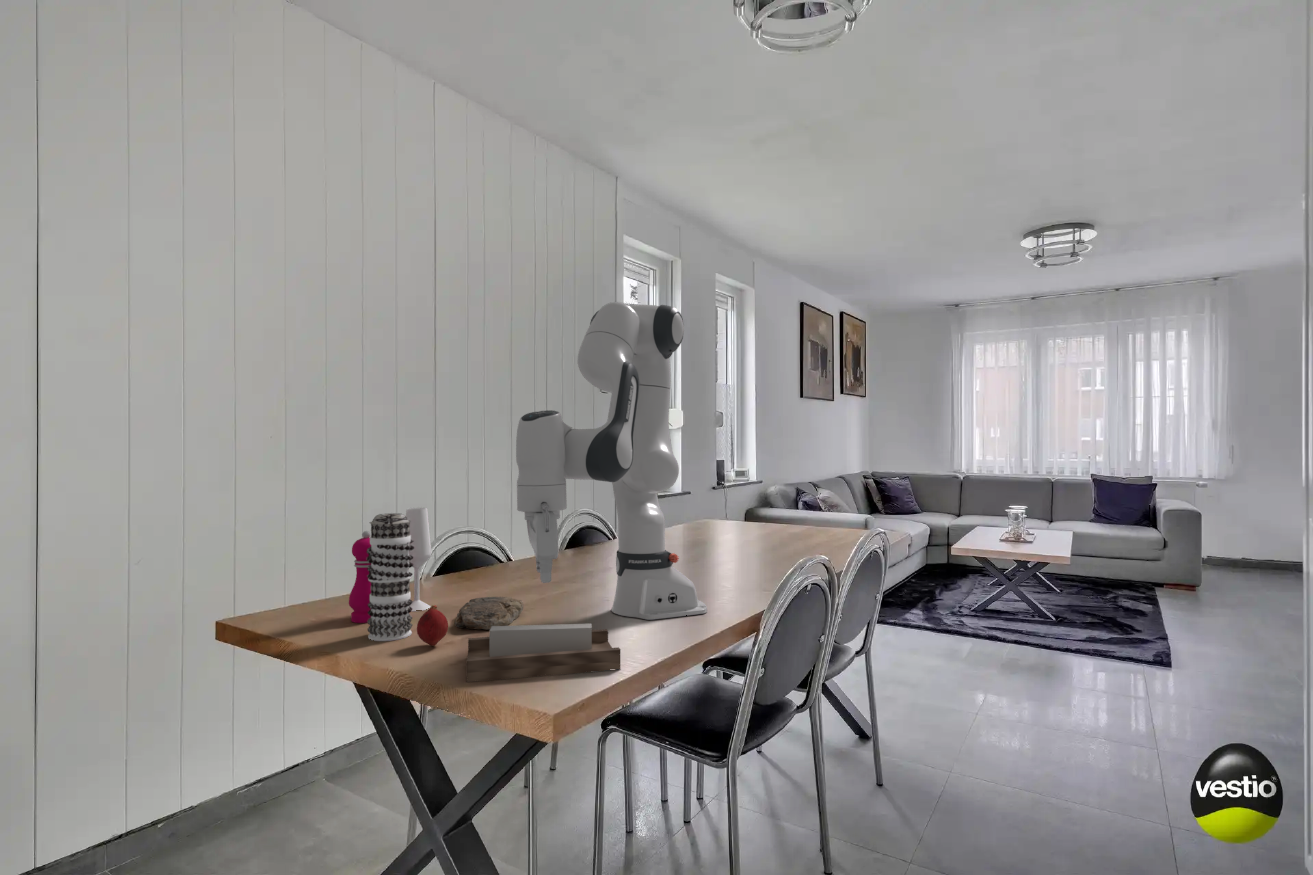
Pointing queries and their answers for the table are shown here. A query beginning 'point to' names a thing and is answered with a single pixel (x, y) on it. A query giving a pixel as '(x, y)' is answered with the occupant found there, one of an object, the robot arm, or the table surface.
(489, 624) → the rough brown rock
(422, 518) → the champagne flute
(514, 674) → the grooved wooden tray
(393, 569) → the decorative candle
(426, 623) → the onion
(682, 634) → the table surface
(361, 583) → the pepper mill
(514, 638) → the clay strip
